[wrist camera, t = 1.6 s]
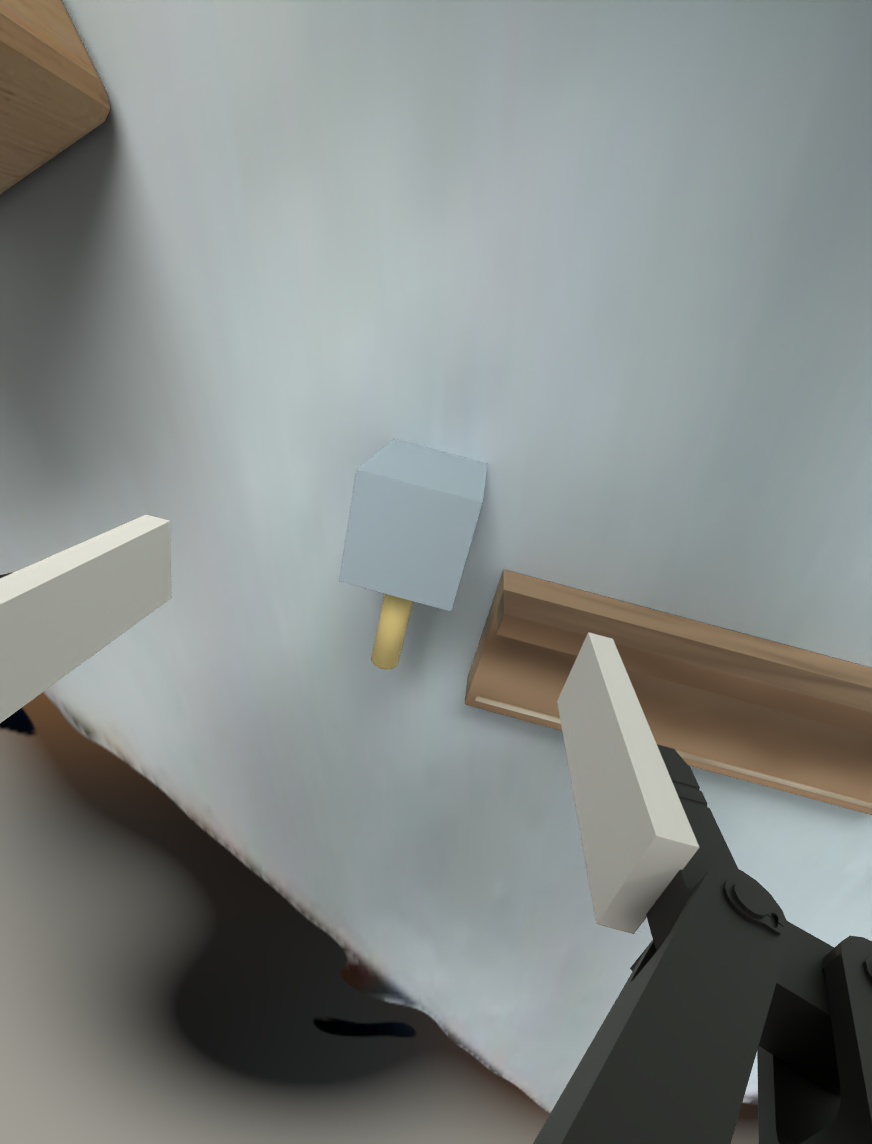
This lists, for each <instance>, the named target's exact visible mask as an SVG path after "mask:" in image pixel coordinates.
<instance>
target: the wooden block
mask: <svg viewBox="0 0 872 1144" xmlns="http://www.w3.org/2000/svg"><path fill="white" fill-rule="evenodd" d="M109 112H110V105H109V100H108V95H107V92H106V90H105V88H104V86H103V84H102V81H101V79H100V77H99V75H98V73H97V71H96V69H95V67H94V65H93V63H92V61H91V59H90V57H89V55H88V53H87V51H86V49H85V47H84V45H83V43H82V41H81V39H80V36H79V34H78V32H77V30H76V28H75V26H74V24H73V22H72V20H71V18H70V16H69V14H68V12H67V10H66V8H65V6H64V4H63V2H62V0H0V194H2V193H3V192H5V191H6V190H8V189H9V188H10V187H12V186H13V185H15V184H16V183H18V182H19V181H20V180H22V179H23V178H25V177H26V176H28V175H29V174H31V173H32V172H33V171H35V170H36V169H38V168H39V167H41V166H42V165H43V164H45V163H46V162H48V161H49V160H51V159H52V158H53V157H55V156H56V155H58V154H59V153H61V152H62V151H64V150H65V149H66V148H68V147H69V146H71V145H72V144H74V143H75V142H76V141H78V140H79V139H81V138H82V137H84V136H85V135H86V134H88V133H89V132H91V131H92V130H94V129H95V128H97V127H98V126H99V125H101V124H102V123H104V122H105V120H106V118H107V116H108V114H109Z"/></svg>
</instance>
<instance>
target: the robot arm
mask: <svg viewBox="0 0 872 1144" xmlns="http://www.w3.org/2000/svg"><path fill="white" fill-rule="evenodd" d="M171 598H172V591H171V538H170V521H169V520H165V519H161V518H157V517H154V516H150V515H144V516H141V517H139V518H137V519H135V520H132V521H130V522H128V523H126V524H123V525H121V526H119V527H116V528H114V529H112V530H110V531H107V532H105V533H103V534H100V535H98V536H96V537H94V538H91V539H89V540H87V541H85V542H82V543H80V544H78V545H75V546H73V547H71V548H69V549H66V550H64V551H62V552H59V553H57V554H55V555H53V556H50V557H48V558H46V559H44V560H41V561H39V562H37V563H34V564H32V565H30V566H28V567H25V568H23V569H21V570H18V571H16V572H14V573H8V574H4V575H0V723H1V722H2V721H4V720H5V719H6V718H8V717H9V716H11V715H12V714H13V713H15V712H16V711H17V710H19V709H20V708H21V707H23V706H24V705H26V704H27V703H28V702H30V701H31V700H32V699H34V698H35V697H37V696H38V695H39V694H41V693H42V692H43V691H45V690H46V689H48V688H49V687H50V686H52V685H53V684H54V683H56V682H57V681H58V680H60V679H61V678H63V677H64V676H65V675H67V674H68V673H69V672H71V671H72V670H74V669H75V668H76V667H78V666H79V665H80V664H82V663H83V662H85V661H86V660H87V659H89V658H90V657H91V656H93V655H94V654H95V653H97V652H98V651H100V650H101V649H102V648H104V647H105V646H106V645H108V644H109V643H111V642H112V641H113V640H115V639H116V638H117V637H119V636H120V635H122V634H123V633H124V632H126V631H127V630H128V629H130V628H131V627H132V626H134V625H135V624H137V623H138V622H139V621H141V620H142V619H143V618H145V617H146V616H148V615H149V614H150V613H152V612H153V611H154V610H156V609H157V608H159V607H160V606H161V605H163V604H164V603H165V602H167V601H168V600H169V599H171ZM557 703H558V709H559V715H560V720H561V726H562V732H563V737H564V743H565V749H566V754H567V760H568V766H569V772H570V777H571V783H572V789H573V794H574V800H575V806H576V811H577V817H578V823H579V828H580V834H581V840H582V846H583V851H584V857H585V863H586V868H587V874H588V880H589V885H590V891H591V897H592V903H593V908H594V914H595V920H596V924H599V925H603V926H606V927H610V928H614V929H617V930H621V931H625V932H628V933H632V934H634V933H635V932H636V930H637V929H638V928H639V927H640V925H641V924H642V923H643V921H644V920H645V919H646V917H647V919H648V923H649V926H650V930H651V934H652V937H653V940H652V942H651V943H650V944H649V945H648V947H647V948H646V949H645V950H644V952H643V953H642V954H641V955H640V957H639V958H638V959H637V960H636V962H635V963H634V964H633V965H632V967H631V968H630V969H631V970H632V971H633V972H632V974H631V976H630V977H629V979H628V981H627V982H626V984H625V986H624V988H623V989H622V991H621V993H620V994H619V996H618V998H617V1000H616V1001H615V1003H614V1005H613V1007H612V1008H611V1010H610V1012H609V1013H608V1015H607V1017H606V1019H605V1020H604V1022H603V1024H602V1026H601V1027H600V1029H599V1031H598V1032H597V1034H596V1036H595V1038H594V1039H593V1041H592V1043H591V1044H590V1046H589V1048H588V1050H587V1051H586V1053H585V1055H584V1057H583V1058H582V1060H581V1062H580V1063H579V1065H578V1067H577V1069H576V1070H575V1072H574V1074H573V1076H572V1077H571V1079H570V1081H569V1082H568V1084H567V1086H566V1088H565V1089H564V1091H563V1093H562V1094H561V1096H560V1098H559V1100H558V1101H557V1103H556V1105H555V1107H554V1108H553V1110H552V1112H551V1113H550V1115H549V1117H548V1119H547V1120H546V1122H545V1124H544V1126H543V1128H542V1129H541V1131H540V1132H539V1134H538V1136H537V1138H536V1139H535V1141H534V1143H533V1144H730V1143H731V1140H732V1136H733V1133H734V1129H735V1126H736V1122H737V1119H738V1115H739V1112H740V1108H741V1105H742V1101H743V1098H744V1094H745V1091H746V1087H747V1084H748V1080H749V1077H750V1073H751V1070H752V1066H753V1063H754V1059H755V1056H756V1052H757V1054H758V1112H759V1113H758V1114H759V1144H872V941H870V940H867V939H865V938H863V937H856V936H849V937H848V938H846V939H844V940H843V941H842V942H841V943H839V944H838V945H837V946H836V947H835V948H834V947H832V946H830V945H829V944H827V943H825V942H823V941H821V940H820V939H818V938H816V937H814V936H813V935H811V934H809V933H807V932H805V931H804V930H802V929H800V928H798V927H797V926H795V925H793V924H791V923H790V922H788V921H787V920H786V918H785V916H784V914H783V911H782V909H781V908H780V907H779V905H778V904H777V903H776V901H775V900H774V898H773V897H772V896H771V894H770V893H769V892H768V891H767V890H766V889H764V888H763V887H762V886H761V885H760V884H759V883H758V882H757V881H756V880H755V879H753V878H752V877H750V876H749V875H747V874H746V873H744V872H743V871H741V870H739V869H738V867H737V865H736V863H735V861H734V859H733V857H732V855H731V853H730V850H729V848H728V846H727V844H726V842H725V840H724V838H723V836H722V834H721V831H720V829H719V827H718V825H717V823H716V821H715V819H714V817H713V815H712V812H711V810H710V808H707V802H706V800H705V798H704V796H703V793H702V791H699V788H700V787H699V785H698V783H697V781H696V779H695V777H694V774H693V772H692V770H691V768H690V767H689V766H688V765H687V763H686V762H685V761H684V760H683V759H682V757H681V756H680V755H679V754H678V753H677V752H676V750H675V749H673V748H669V747H665V746H662V745H658V744H656V742H655V739H654V737H653V734H652V732H651V730H650V727H649V725H648V722H647V720H646V717H645V715H644V713H643V710H642V708H641V705H640V703H639V701H638V698H637V696H636V693H635V691H634V689H633V686H632V684H631V681H630V679H629V676H628V674H627V672H626V669H625V667H624V664H623V662H622V660H621V657H620V655H619V652H618V650H617V648H616V645H615V643H614V640H613V639H612V638H608V637H604V636H600V635H597V634H593V633H589V632H588V634H587V636H586V638H585V641H584V643H583V645H582V647H581V649H580V652H579V654H578V656H577V658H576V661H575V663H574V665H573V667H572V669H571V672H570V674H569V676H568V678H567V681H566V683H565V685H564V687H563V689H562V692H561V694H560V696H559V698H558V701H557Z"/></svg>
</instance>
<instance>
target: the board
mask: <svg viewBox="0 0 872 1144" xmlns="http://www.w3.org/2000/svg"><path fill="white" fill-rule="evenodd" d="M588 632H589V633H593V634H597V635H600V636H604V637H608V638H612V639H613V640H614V643H615V645H616V648H617V650H618V652H619V655H620V657H621V660H622V662H623V664H624V667H625V669H626V672H627V674H628V676H629V679H630V681H631V684H632V686H633V689H634V691H635V693H636V696H637V698H638V701H639V703H640V705H641V708H642V710H643V713H644V715H645V717H646V720H647V722H648V725H649V727H650V730H651V732H652V734H653V737H654V739H655V742H656V744H658V745H662V746H665V747H669V748H673V749H675V750H676V752H677V753H678V754H679V755H680V756H681V757H682V759H683V760H684V761H685V762H686V763H687V765H690V766H694V767H697V768H701V769H705V770H708V771H712V772H716V773H719V774H723V775H727V776H730V777H734V778H738V779H741V780H745V781H749V782H752V783H756V784H760V785H764V786H767V787H771V788H775V789H778V790H782V791H786V792H789V793H793V794H797V795H800V796H804V797H808V798H811V799H815V800H819V801H822V802H826V803H830V804H833V805H837V806H841V807H844V808H848V809H852V810H855V811H859V812H863V813H866V814H870V815H872V668H871V667H867V666H863V665H859V664H856V663H852V662H848V661H844V660H841V659H837V658H833V657H829V656H826V655H822V654H818V653H814V652H811V651H807V650H803V649H800V648H796V647H792V646H788V645H785V644H781V643H777V642H773V641H770V640H766V639H762V638H758V637H755V636H751V635H747V634H743V633H740V632H736V631H732V630H728V629H725V628H721V627H717V626H713V625H710V624H706V623H702V622H699V621H695V620H691V619H687V618H684V617H680V616H676V615H672V614H669V613H665V612H661V611H657V610H654V609H650V608H646V607H642V606H639V605H635V604H631V603H627V602H624V601H620V600H616V599H613V598H609V597H605V596H601V595H598V594H594V593H590V592H586V591H583V590H579V589H575V588H571V587H568V586H564V585H560V584H556V583H553V582H549V581H545V580H541V579H538V578H534V577H530V576H526V575H523V574H519V573H515V572H512V571H508V570H503V573H502V576H501V579H500V582H499V585H498V588H497V591H496V594H495V597H494V600H493V603H492V606H491V609H490V612H489V615H488V618H487V621H486V624H485V627H484V630H483V633H482V636H481V639H480V642H479V645H478V648H477V651H476V654H475V657H474V660H473V663H472V666H471V669H470V672H469V675H468V678H467V687H466V697H465V704H466V705H470V706H473V707H477V708H481V709H484V710H488V711H492V712H495V713H499V714H503V715H506V716H510V717H514V718H517V719H521V720H525V721H528V722H532V723H536V724H539V725H543V726H547V727H550V728H554V729H558V730H561V731H562V726H561V720H560V715H559V709H558V703H557V701H558V698H559V696H560V694H561V692H562V689H563V687H564V685H565V683H566V681H567V678H568V676H569V674H570V672H571V669H572V667H573V665H574V663H575V661H576V658H577V656H578V654H579V652H580V649H581V647H582V645H583V643H584V641H585V638H586V636H587V634H588Z"/></svg>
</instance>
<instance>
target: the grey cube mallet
mask: <svg viewBox="0 0 872 1144" xmlns="http://www.w3.org/2000/svg"><path fill="white" fill-rule="evenodd" d="M487 465H488V464H487V463H483V462H480V461H476V460H472V459H468V458H464V457H461V456H457V455H453V454H449V453H445V452H442V451H438V450H434V449H430V448H426V447H423V446H419V445H415V444H411V443H408V442H404V441H400V440H396V439H394V440H392V441H391V442H390V443H389V444H387V445H386V446H385V447H384V448H382V449H381V450H380V451H379V452H377V453H376V454H375V455H374V456H372V457H371V458H370V459H369V460H367V461H366V462H365V463H363V464H362V465H361V466H360V467H358V468H357V469H356V475H355V482H354V488H353V495H352V501H351V507H350V514H349V520H348V527H347V533H346V539H345V546H344V552H343V559H342V565H341V571H340V578H339V581H340V582H343V583H347V584H351V585H355V586H358V587H362V588H366V589H369V590H373V591H377V592H381V593H384V594H385V595H384V600H383V605H382V610H381V614H380V619H379V624H378V629H377V633H376V638H375V643H374V648H373V653H372V657H371V660H372V662H373V664H374V665H375V666H377V667H379V668H382V669H392V668H395V667H396V666H397V665H398V661H399V657H400V653H401V649H402V645H403V641H404V637H405V633H406V628H407V624H408V620H409V616H410V612H411V608H412V604H413V601H414V602H418V603H421V604H425V605H429V606H432V607H436V608H440V609H444V610H447V611H451V610H452V607H453V604H454V600H455V597H456V593H457V590H458V586H459V583H460V579H461V576H462V572H463V569H464V566H465V562H466V559H467V555H468V552H469V548H470V545H471V541H472V538H473V534H474V531H475V528H476V524H477V521H478V517H479V514H480V510H481V507H482V503H483V496H484V489H485V481H486V473H487Z"/></svg>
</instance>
